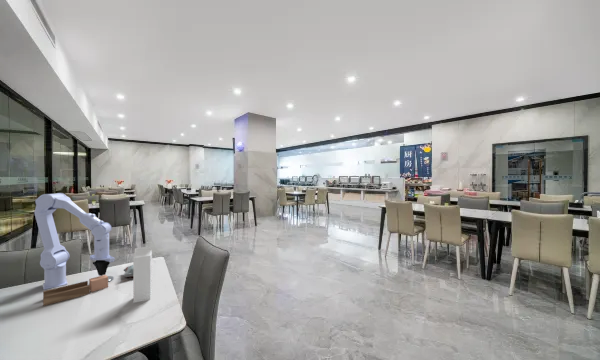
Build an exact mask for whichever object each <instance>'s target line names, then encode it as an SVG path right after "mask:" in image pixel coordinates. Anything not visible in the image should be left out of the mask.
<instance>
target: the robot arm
mask: <svg viewBox="0 0 600 360" xmlns="http://www.w3.org/2000/svg"><path fill="white" fill-rule="evenodd" d="M34 202H35V208H34V209H35V210H34V212H33V213H34V216H35V220H36V223H37V227H38V232H39V235H40V239H41V242H42V245H43V250H42V252H41V253H40V261H39V265H40V267H41V268H42V269H43V270H44V274H43V275H44V277H43V278H44V282H43V284H42V285H43V286H42V288H43V289H42V290H43V291H46V290H51V289H55V288H59V287H63V286H68V285H69V284H68V283H69V282H68V279H67V262H68V260H69V259H70V258H71V257H70V256H71V255H70V253H69V251H68V250H67V249H66V247H65V246H64V245H62V244H61V243H60V239H59V235H58V231H57V227H56V223H55V220H54V216H53V214H54V212H56V210H57V209H63V210H66V211H67V212H68V213H70V214H72V215H74V216H75V217H77V218H78V219H79V223H80V224H81V225H83V226H84V227H86V228H87V229H88V230H90V232H91V234H92V236H93V237H94V238H93V239H94V241H93V242H94V245H93V246H94V247H93V248H94V249H93V250H94V254H90V255H89V260H92V261H93V262H92V265H94V267H95V268H96V271H97V274H98V277H99V276H103V275H107V274H106V273H107V270H108V267H109V265H110V263H113V262H115V257H113V256H112V255H110V232H111V231H112V229H113V227H112V225H111V224H110V223H109V222H105V221H104V220H101V219H100V218H98V217H97V215H96V214H95V213H91V212H89V213H88V212H86V211H85V210H83V209H82V208H81V207H80V206H78V205H77V204H76V203H75V202H73V200H72V199H71V197H69V196H67V195H66V194H65V193H63V192H57V193H43V194H41V195H40V196H38V197H37V198H36V199H35V200H34Z"/></svg>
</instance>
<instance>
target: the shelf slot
mask: <svg viewBox="0 0 600 360" xmlns="http://www.w3.org/2000/svg"><path fill="white" fill-rule="evenodd" d="M42 292H43V297H42V298H43V300H42V301H43V302H42V304H43V305H42V306H43V307H45V306H49V305H52V304H56V303H60V302H64V301H68V300H72V299H76V298H78V297H82V296H86V295H90V292H91V291H90V286H89V280H85V281H81V282H77V283H72V284H67V285H63V286H59V287H55V288H50V289H46V290H43V291H42Z"/></svg>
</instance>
